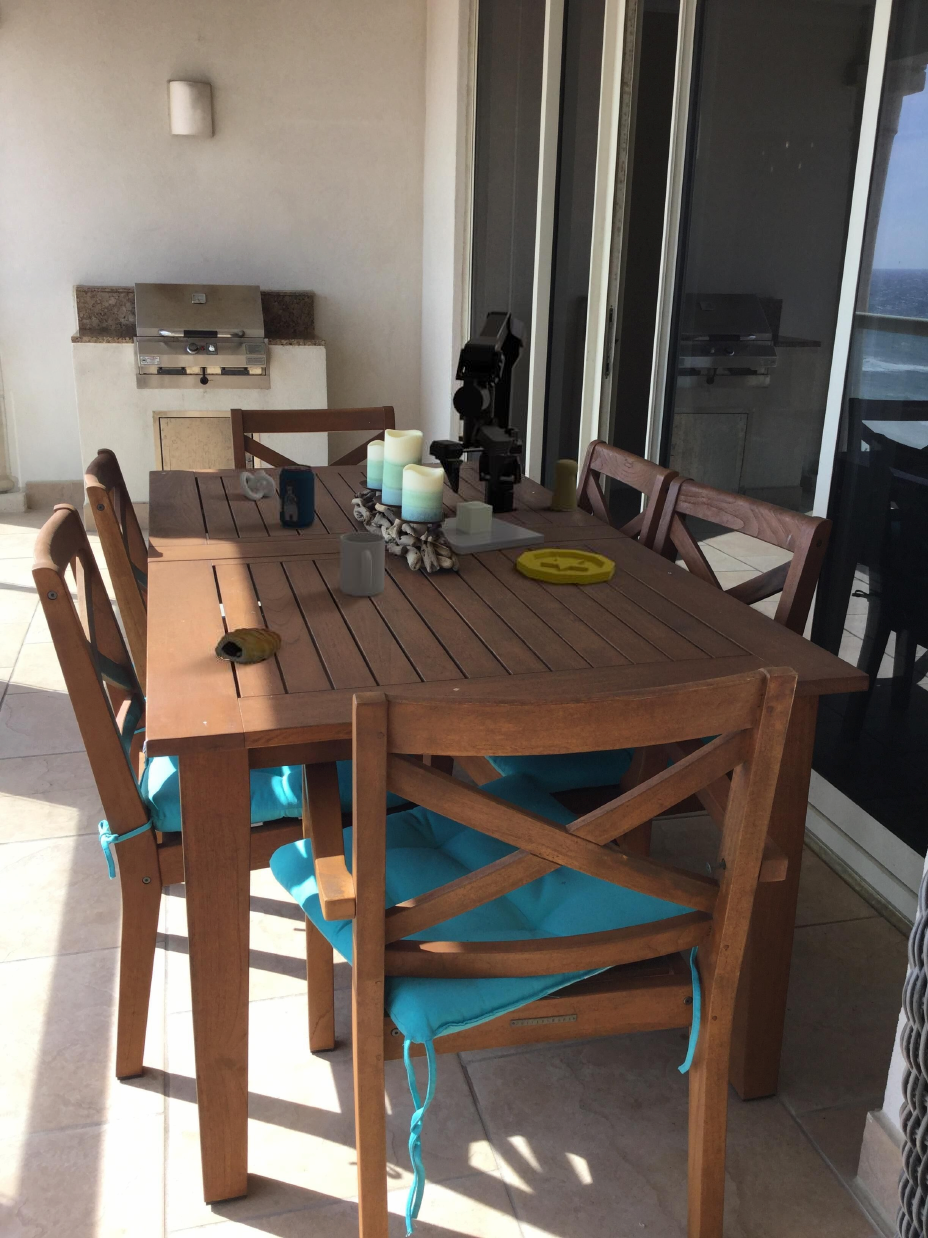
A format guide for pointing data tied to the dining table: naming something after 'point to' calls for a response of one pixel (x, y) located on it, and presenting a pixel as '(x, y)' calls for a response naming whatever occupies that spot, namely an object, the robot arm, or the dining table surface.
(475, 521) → the sage cube
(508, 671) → the dining table surface
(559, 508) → the cork
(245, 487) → the knot
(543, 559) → the decorative disc
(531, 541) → the grey tile
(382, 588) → the cup
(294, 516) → the soda can
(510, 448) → the robot arm
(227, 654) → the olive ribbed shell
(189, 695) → the dining table surface
